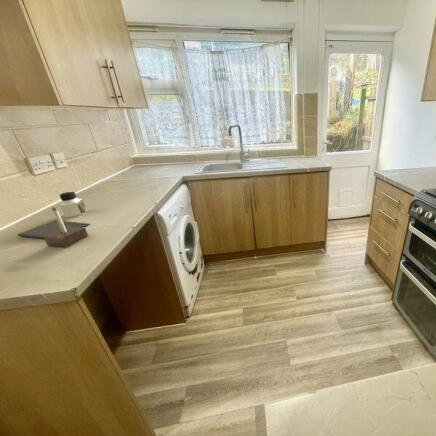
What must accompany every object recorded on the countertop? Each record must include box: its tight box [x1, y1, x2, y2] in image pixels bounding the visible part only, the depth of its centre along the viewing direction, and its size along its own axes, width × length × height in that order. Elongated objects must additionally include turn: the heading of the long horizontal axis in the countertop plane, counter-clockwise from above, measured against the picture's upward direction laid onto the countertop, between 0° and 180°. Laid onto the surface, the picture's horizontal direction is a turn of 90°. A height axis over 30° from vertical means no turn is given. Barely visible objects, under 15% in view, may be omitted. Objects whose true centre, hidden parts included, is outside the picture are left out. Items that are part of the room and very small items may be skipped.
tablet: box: [17, 219, 91, 240], centre depth 110 cm, size 15×22×1 cm
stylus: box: [51, 206, 67, 233], centre depth 97 cm, size 1×1×15 cm
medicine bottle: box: [59, 191, 88, 218], centre depth 125 cm, size 7×7×12 cm
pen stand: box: [43, 226, 89, 249], centre depth 99 cm, size 9×9×4 cm
